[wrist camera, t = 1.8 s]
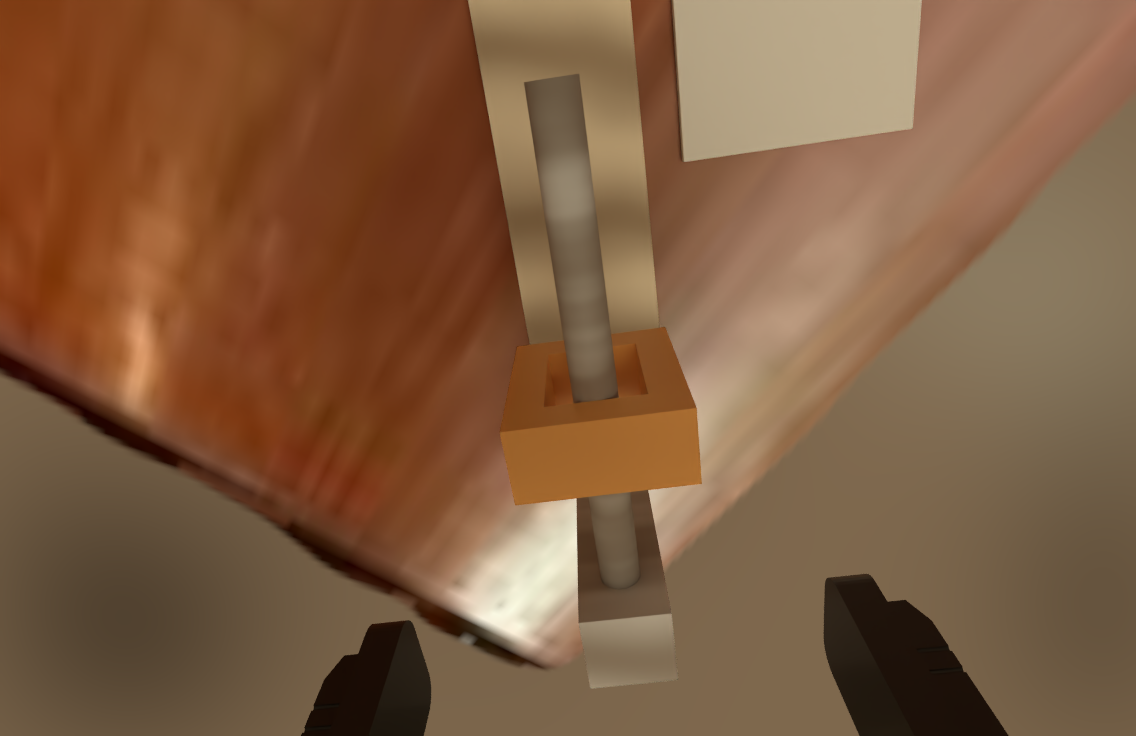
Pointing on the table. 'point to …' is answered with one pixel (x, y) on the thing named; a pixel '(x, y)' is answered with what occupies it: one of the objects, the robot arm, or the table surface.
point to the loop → (600, 424)
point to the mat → (792, 72)
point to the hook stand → (583, 273)
